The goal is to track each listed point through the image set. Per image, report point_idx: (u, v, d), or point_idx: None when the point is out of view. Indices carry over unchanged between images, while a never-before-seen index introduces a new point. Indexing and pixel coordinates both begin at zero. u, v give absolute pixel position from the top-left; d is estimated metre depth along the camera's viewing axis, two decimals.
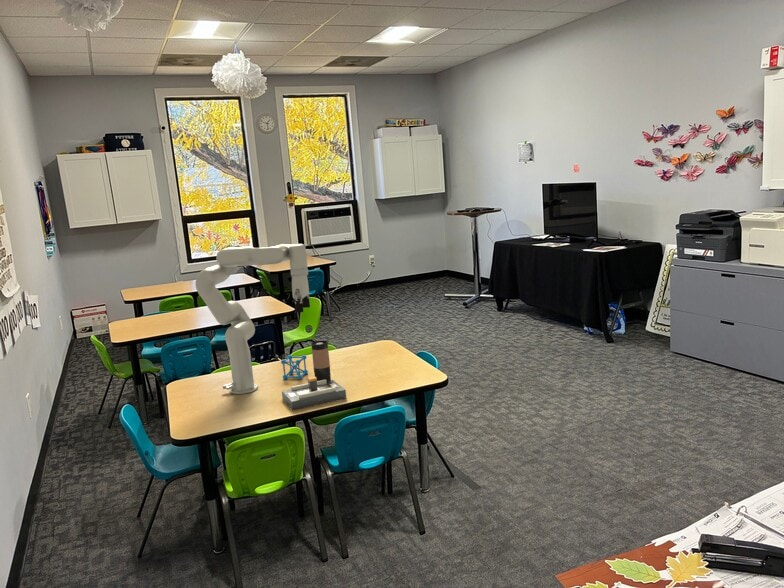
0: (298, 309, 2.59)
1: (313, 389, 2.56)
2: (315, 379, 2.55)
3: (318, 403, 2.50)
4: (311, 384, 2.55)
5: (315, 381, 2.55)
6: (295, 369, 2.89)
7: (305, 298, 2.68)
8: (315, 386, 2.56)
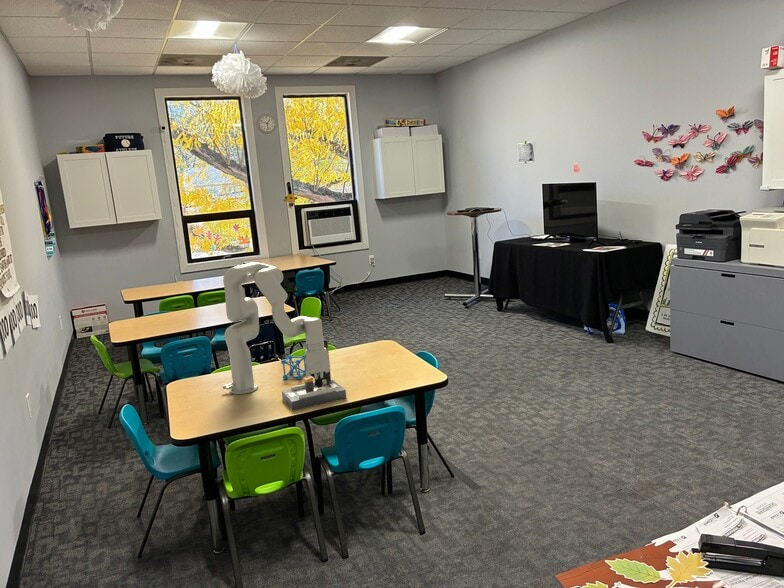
0: None
1: (309, 390, 2.55)
2: (311, 380, 2.55)
3: (318, 403, 2.50)
4: (307, 384, 2.54)
5: (311, 382, 2.55)
6: (295, 369, 2.89)
7: None
8: (311, 387, 2.55)
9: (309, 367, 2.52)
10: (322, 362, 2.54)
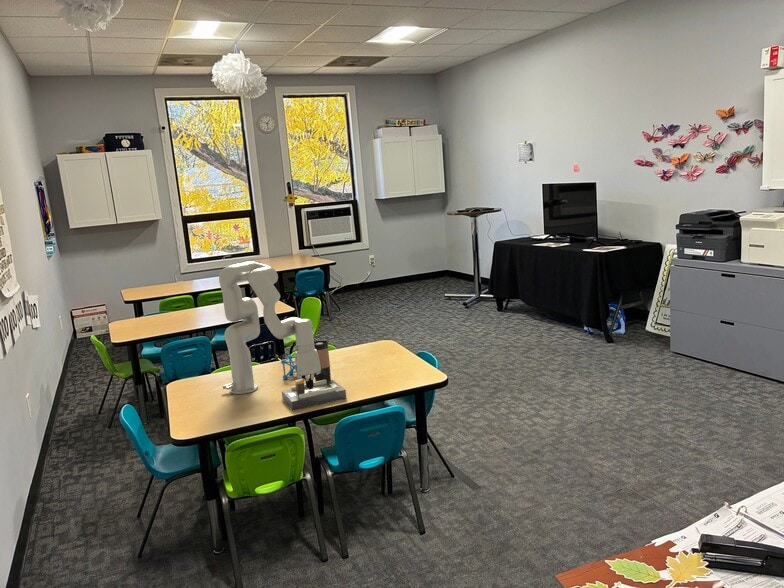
0: None
1: (300, 392, 2.53)
2: (302, 382, 2.53)
3: (318, 403, 2.50)
4: (298, 386, 2.52)
5: (302, 383, 2.53)
6: (295, 369, 2.89)
7: None
8: (302, 389, 2.53)
9: (300, 369, 2.50)
10: (313, 363, 2.53)
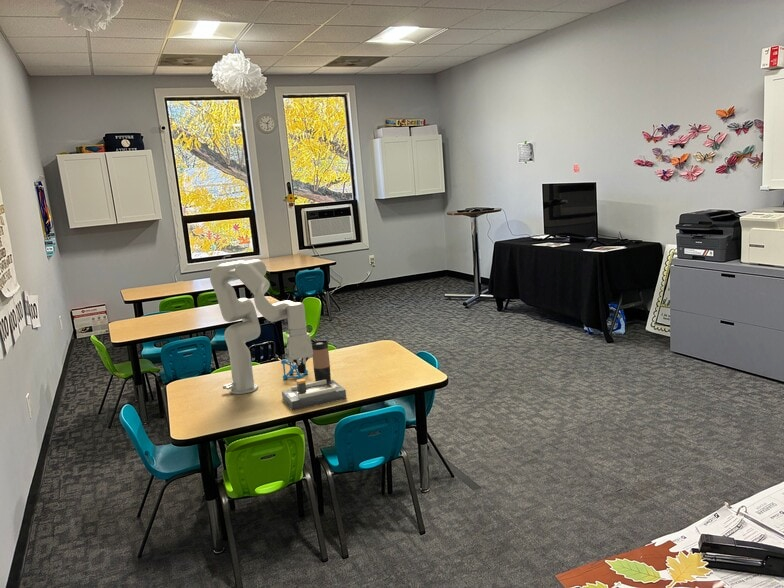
0: None
1: (302, 391, 2.53)
2: (304, 381, 2.53)
3: (318, 403, 2.50)
4: (299, 386, 2.53)
5: (304, 383, 2.53)
6: (295, 369, 2.89)
7: None
8: (304, 388, 2.54)
9: (291, 352, 2.48)
10: (305, 347, 2.50)
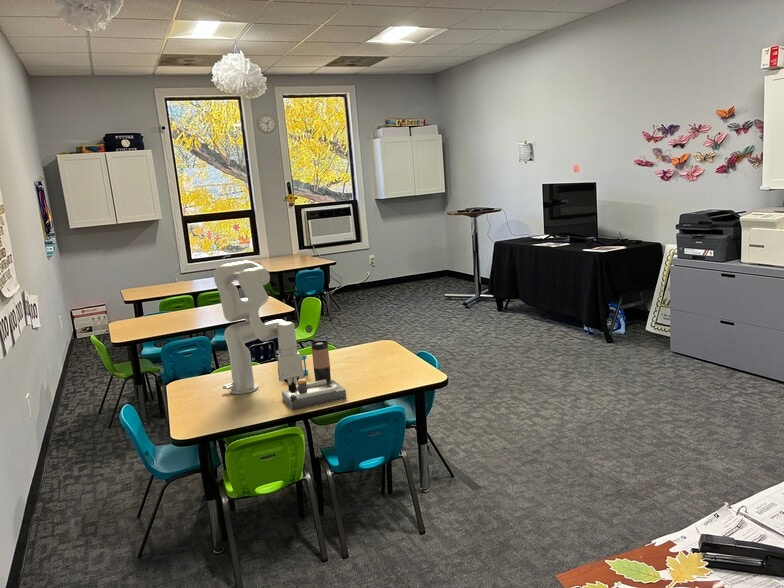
0: None
1: (303, 391, 2.54)
2: (305, 381, 2.53)
3: (318, 403, 2.50)
4: (300, 386, 2.53)
5: (304, 383, 2.53)
6: None
7: (290, 381, 2.52)
8: (305, 388, 2.54)
9: (282, 372, 2.47)
10: (295, 367, 2.49)
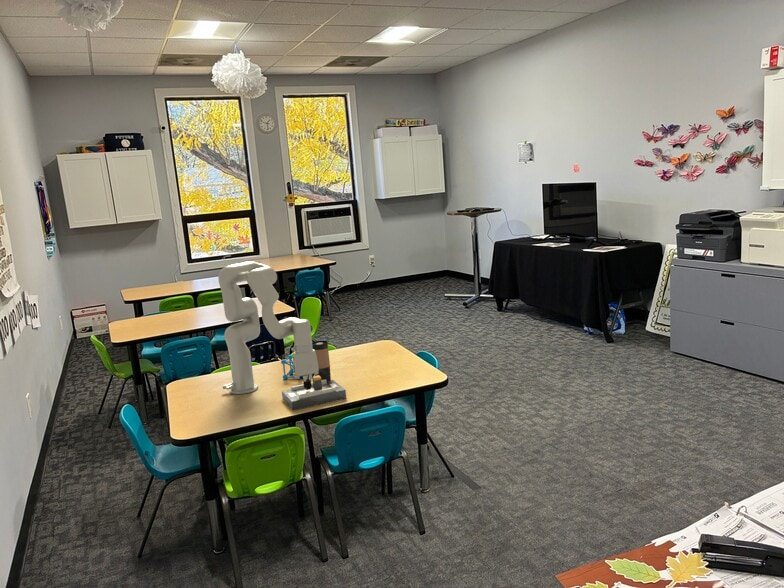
0: None
1: (317, 388, 2.56)
2: (319, 378, 2.56)
3: (318, 403, 2.50)
4: (315, 383, 2.56)
5: (319, 380, 2.56)
6: None
7: None
8: (319, 385, 2.57)
9: (297, 369, 2.50)
10: (310, 364, 2.52)
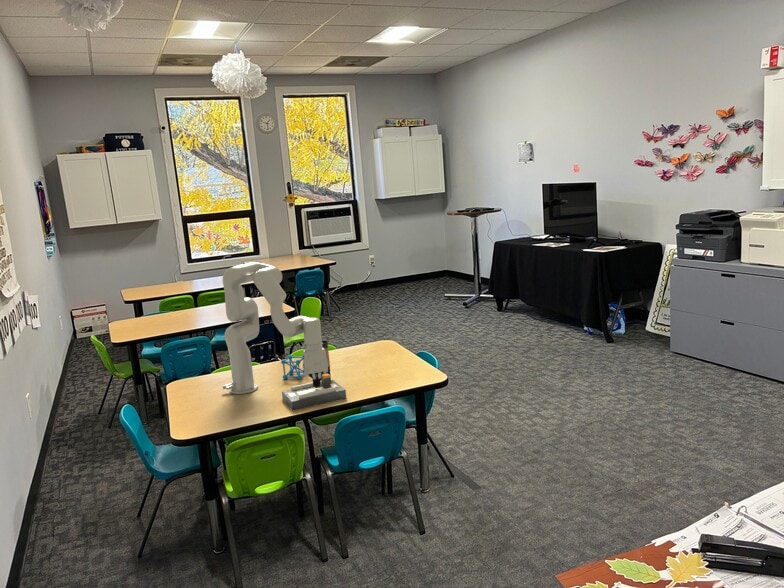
0: None
1: (326, 386, 2.58)
2: (328, 376, 2.58)
3: (318, 403, 2.50)
4: (324, 381, 2.57)
5: (328, 378, 2.58)
6: (295, 369, 2.89)
7: None
8: (328, 383, 2.58)
9: (307, 367, 2.52)
10: (320, 362, 2.54)
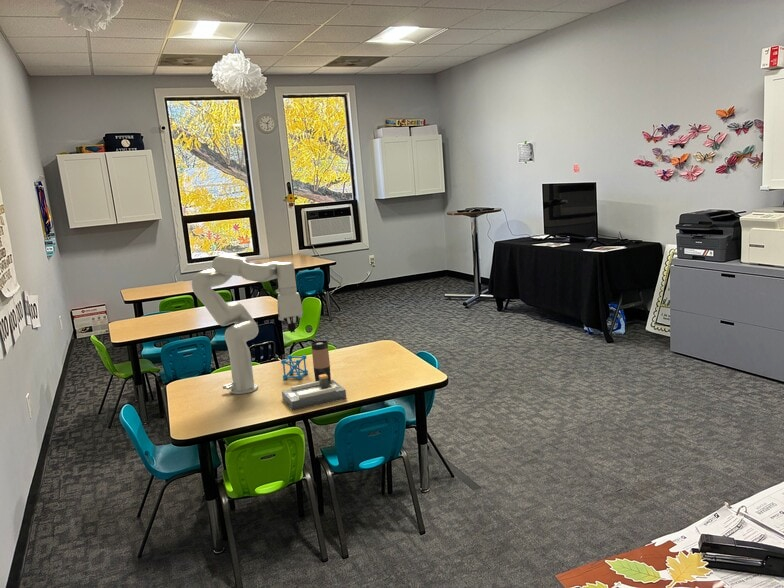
0: None
1: (324, 387, 2.58)
2: (326, 377, 2.57)
3: (318, 403, 2.50)
4: (322, 381, 2.57)
5: (326, 378, 2.57)
6: (295, 369, 2.89)
7: None
8: (326, 384, 2.58)
9: (281, 311, 2.54)
10: (295, 306, 2.56)
